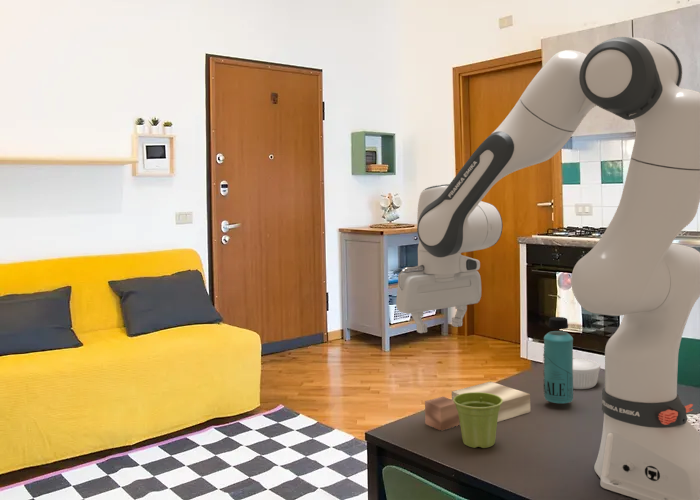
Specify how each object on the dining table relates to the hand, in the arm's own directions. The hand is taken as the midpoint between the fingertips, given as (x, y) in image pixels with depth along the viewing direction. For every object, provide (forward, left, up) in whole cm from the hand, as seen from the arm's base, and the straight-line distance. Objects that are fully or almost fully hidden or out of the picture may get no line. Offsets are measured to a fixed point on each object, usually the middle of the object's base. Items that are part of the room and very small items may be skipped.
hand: (439, 329), depth 135 cm
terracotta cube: (-1, +1, -20) cm, 20 cm away
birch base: (-1, -13, -20) cm, 24 cm away
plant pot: (-13, +2, -20) cm, 24 cm away
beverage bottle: (-8, -27, -20) cm, 35 cm away
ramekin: (0, -43, -20) cm, 48 cm away
